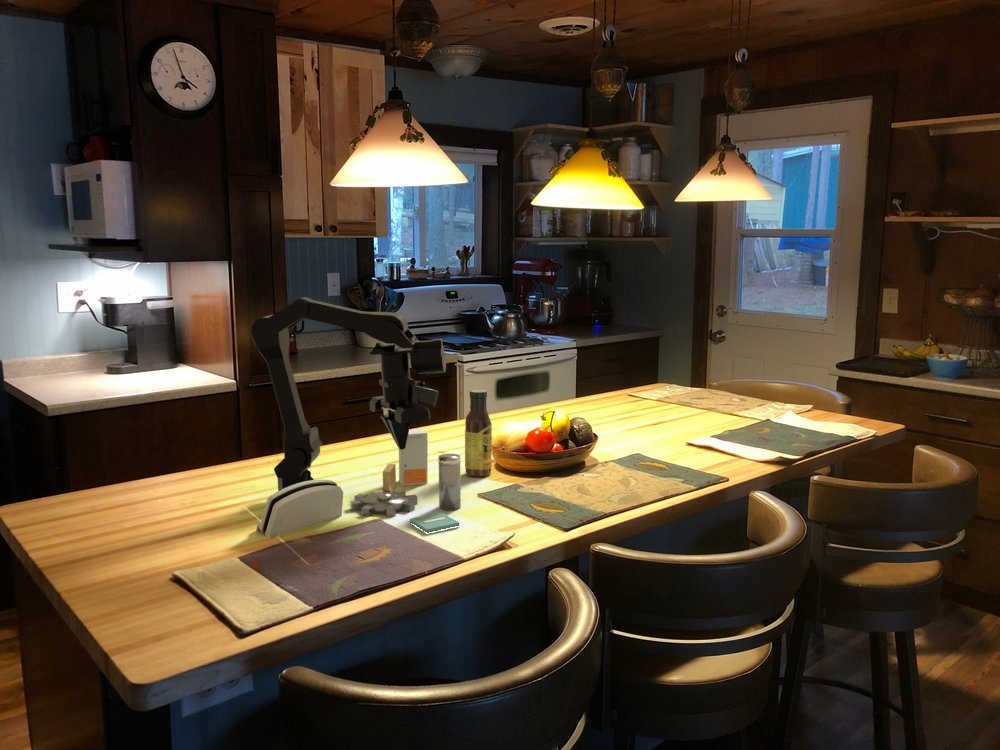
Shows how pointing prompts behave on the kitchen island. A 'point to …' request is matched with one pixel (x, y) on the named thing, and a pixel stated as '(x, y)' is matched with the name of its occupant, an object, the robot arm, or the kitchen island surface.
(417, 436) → the skincare box
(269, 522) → the white rounded block
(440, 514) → the pad
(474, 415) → the sauce bottle
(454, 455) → the roller
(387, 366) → the robot arm
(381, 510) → the sprocket
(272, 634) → the kitchen island surface
